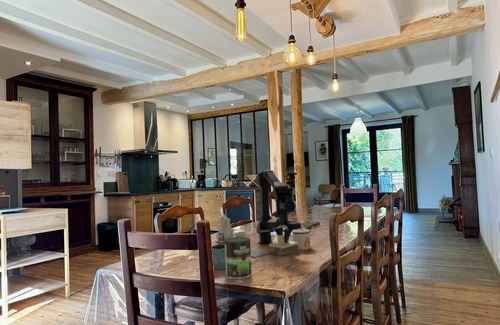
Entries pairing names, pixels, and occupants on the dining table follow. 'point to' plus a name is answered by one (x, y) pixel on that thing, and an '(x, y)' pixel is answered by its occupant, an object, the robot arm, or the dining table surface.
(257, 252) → the coaster
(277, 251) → the box
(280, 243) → the lid
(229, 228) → the chinaware
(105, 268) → the dining table surface
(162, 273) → the dining table surface
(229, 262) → the coffee can
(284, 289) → the dining table surface
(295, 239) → the teacup with lid
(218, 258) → the flower pot
